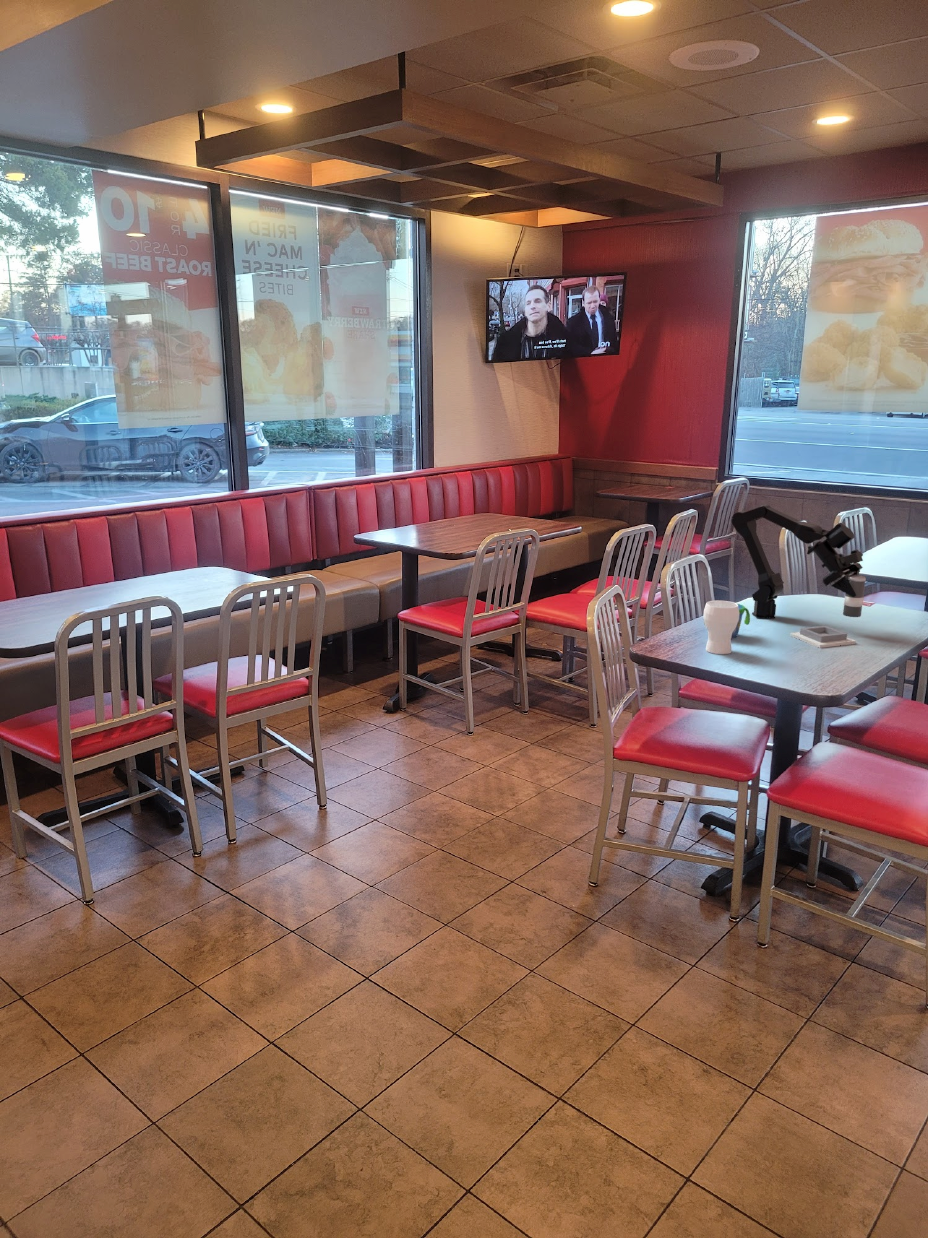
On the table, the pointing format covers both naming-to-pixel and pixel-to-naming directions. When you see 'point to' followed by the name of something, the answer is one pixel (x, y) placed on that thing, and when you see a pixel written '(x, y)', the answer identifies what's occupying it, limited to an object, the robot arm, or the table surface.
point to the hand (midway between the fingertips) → (858, 594)
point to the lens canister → (855, 603)
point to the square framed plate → (823, 636)
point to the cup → (720, 625)
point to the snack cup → (747, 619)
